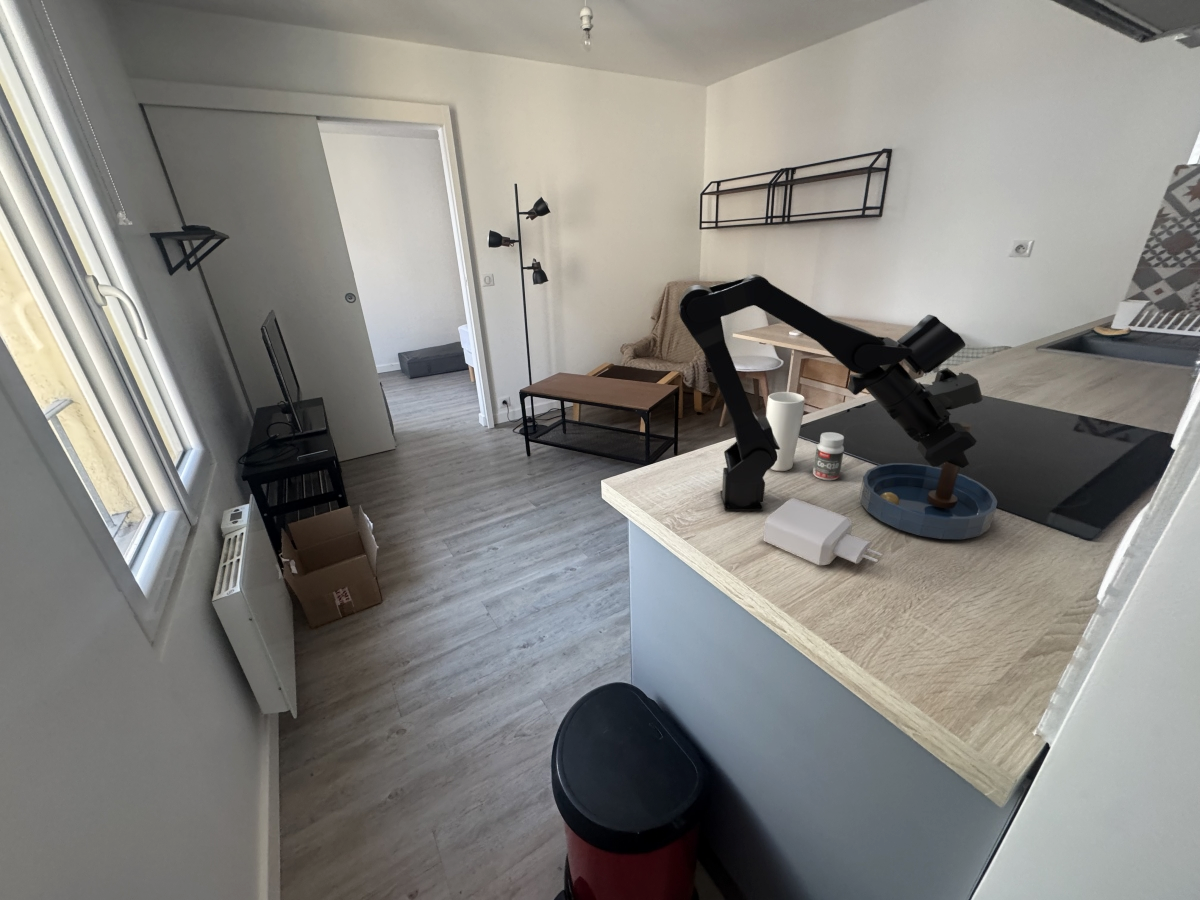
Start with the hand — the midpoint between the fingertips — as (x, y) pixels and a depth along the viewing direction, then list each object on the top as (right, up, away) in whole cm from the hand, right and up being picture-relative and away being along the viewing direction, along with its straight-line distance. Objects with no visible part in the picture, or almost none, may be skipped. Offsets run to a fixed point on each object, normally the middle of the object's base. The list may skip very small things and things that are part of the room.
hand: (962, 462), depth 74 cm
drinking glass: (-21, -2, +22) cm, 30 cm away
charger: (-24, -14, -3) cm, 27 cm away
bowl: (-4, -8, +5) cm, 10 cm away
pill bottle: (-13, -3, +18) cm, 22 cm away
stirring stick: (-1, -7, +4) cm, 8 cm away
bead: (-9, -7, +4) cm, 12 cm away
